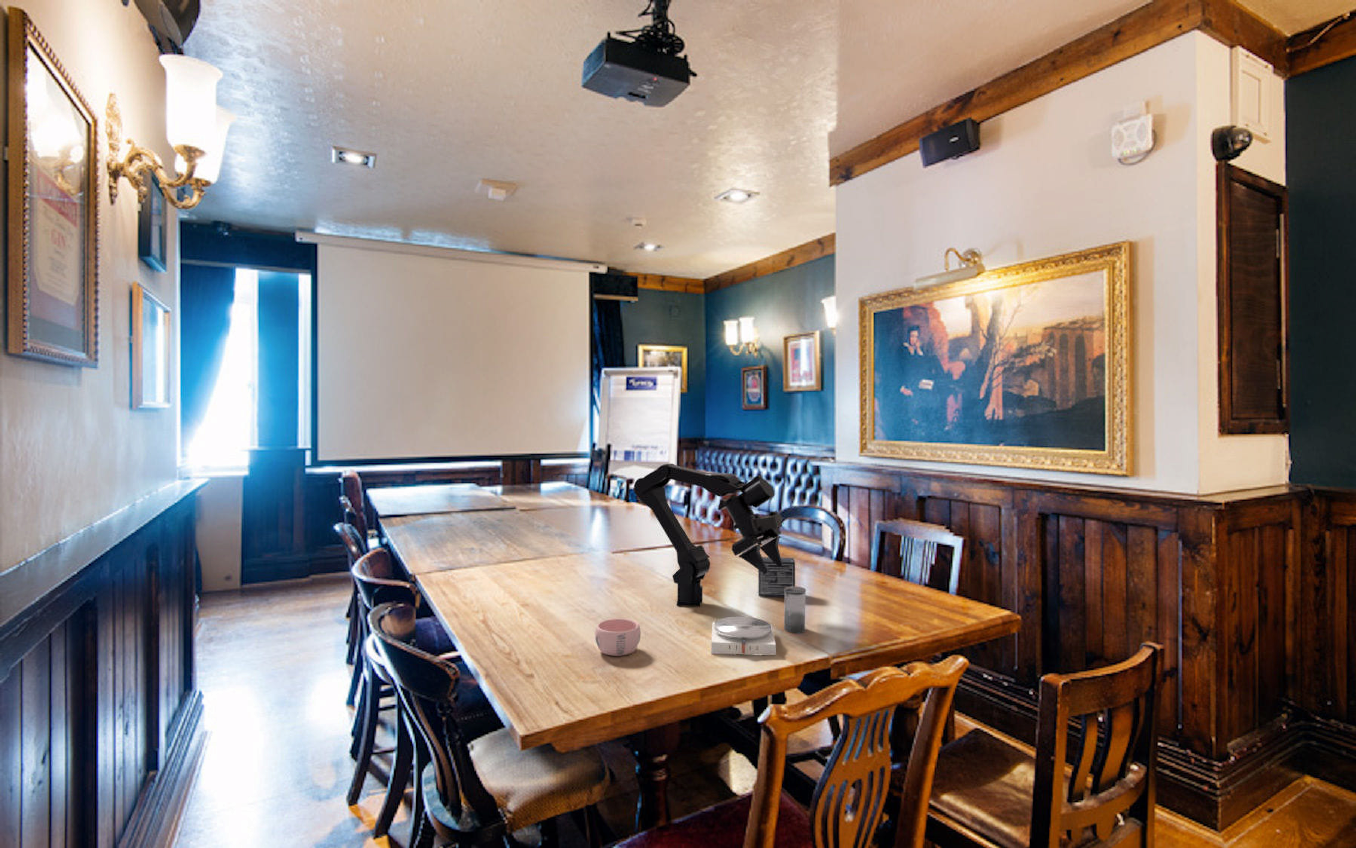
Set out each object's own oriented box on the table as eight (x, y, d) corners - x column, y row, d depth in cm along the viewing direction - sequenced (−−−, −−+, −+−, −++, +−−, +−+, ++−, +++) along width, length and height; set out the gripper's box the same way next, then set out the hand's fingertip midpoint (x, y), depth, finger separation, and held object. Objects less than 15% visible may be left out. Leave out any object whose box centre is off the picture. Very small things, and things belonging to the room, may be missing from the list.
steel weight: (784, 633, 156) (785, 591, 156) (782, 626, 161) (783, 586, 161) (806, 633, 156) (807, 592, 156) (803, 626, 161) (804, 586, 161)
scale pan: (713, 652, 141) (713, 636, 141) (714, 630, 156) (714, 615, 156) (773, 654, 140) (773, 638, 140) (769, 632, 155) (769, 617, 155)
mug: (645, 657, 140) (645, 630, 140) (600, 662, 136) (600, 634, 136) (631, 639, 151) (631, 613, 151) (589, 643, 148) (589, 617, 148)
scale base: (711, 653, 142) (711, 642, 142) (712, 632, 156) (712, 621, 156) (775, 656, 141) (775, 644, 141) (771, 634, 155) (771, 623, 155)
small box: (793, 592, 192) (794, 557, 192) (795, 598, 186) (796, 562, 186) (757, 590, 194) (758, 556, 193) (758, 597, 187) (758, 560, 187)
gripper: (751, 505, 159) (784, 562, 155) (780, 497, 175) (811, 548, 171) (718, 527, 164) (749, 582, 160) (749, 517, 180) (778, 567, 175)
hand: (773, 569), depth 166 cm, fingers open, 9 cm apart
